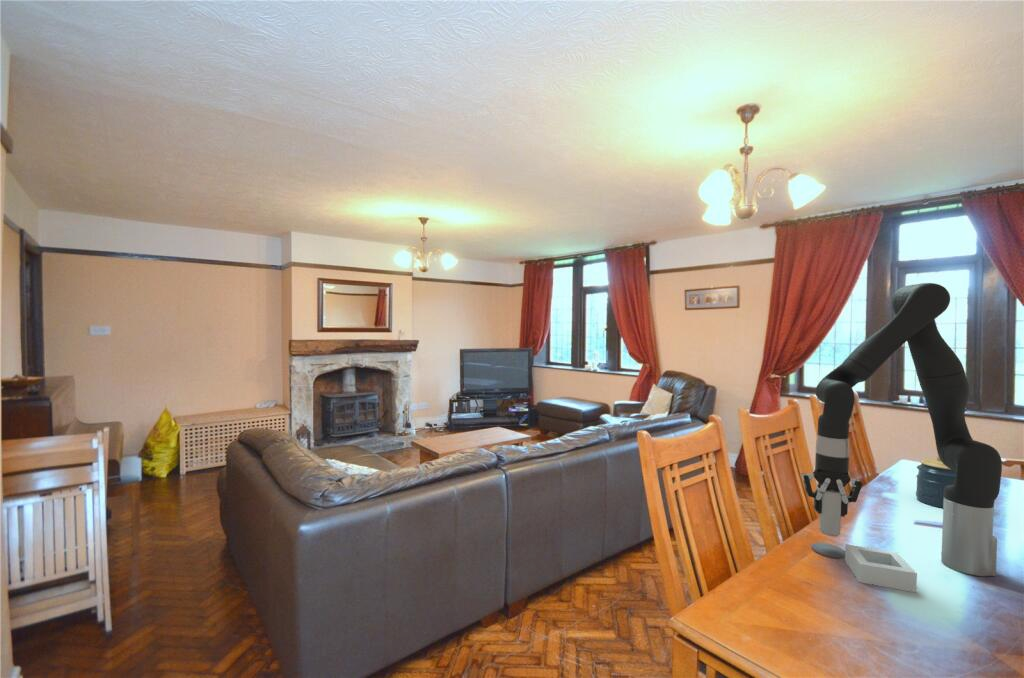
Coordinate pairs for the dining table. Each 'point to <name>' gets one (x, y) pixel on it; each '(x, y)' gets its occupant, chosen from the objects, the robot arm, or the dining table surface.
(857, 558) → the pocket block
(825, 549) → the coaster
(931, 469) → the canister
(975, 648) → the dining table surface
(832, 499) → the beverage can
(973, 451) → the robot arm
